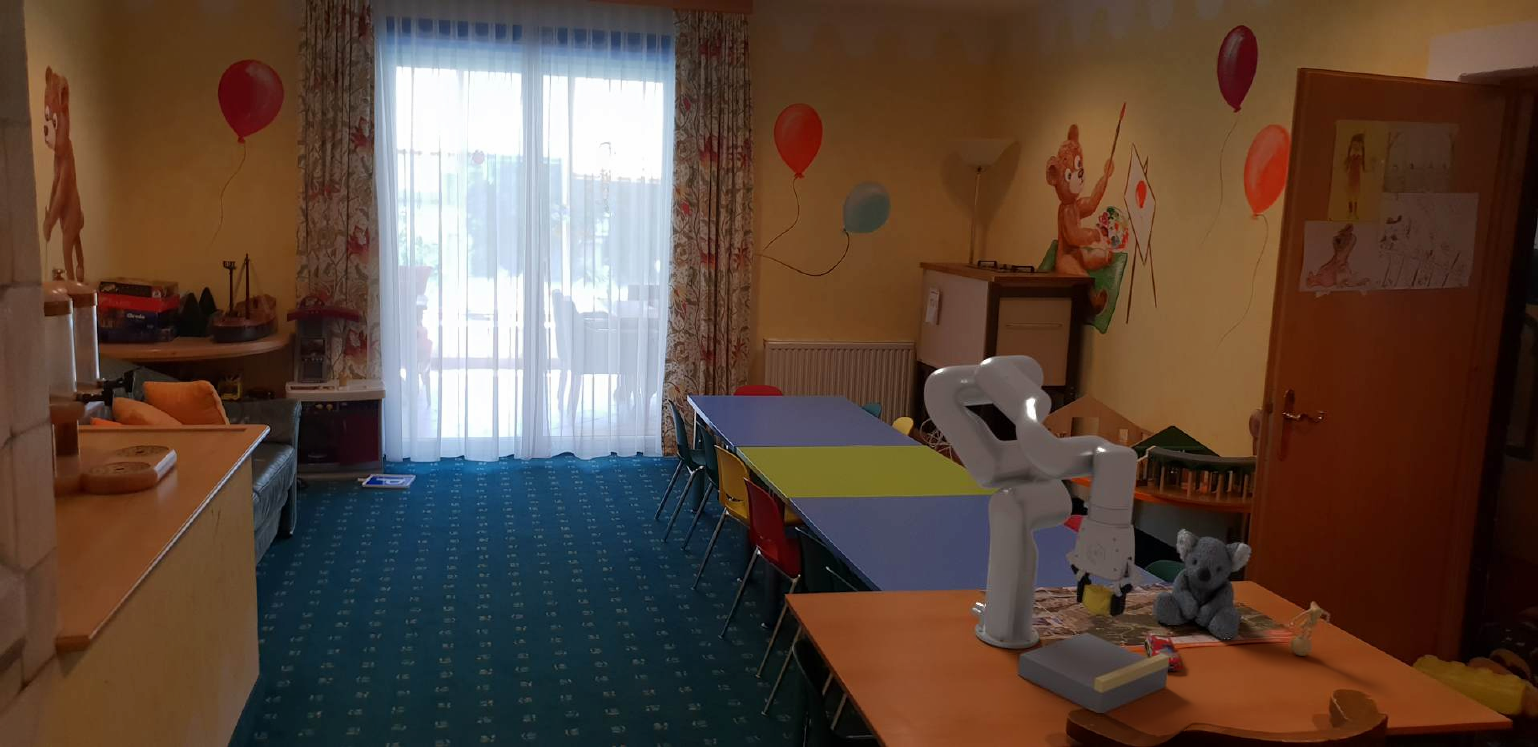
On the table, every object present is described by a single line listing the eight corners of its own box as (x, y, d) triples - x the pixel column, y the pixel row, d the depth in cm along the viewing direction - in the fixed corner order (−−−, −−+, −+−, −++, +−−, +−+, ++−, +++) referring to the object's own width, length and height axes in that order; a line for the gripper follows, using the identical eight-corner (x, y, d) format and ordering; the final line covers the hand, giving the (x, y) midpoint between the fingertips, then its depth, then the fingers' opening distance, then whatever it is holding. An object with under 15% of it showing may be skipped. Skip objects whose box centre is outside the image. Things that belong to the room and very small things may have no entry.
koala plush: (1148, 623, 231) (1158, 535, 227) (1167, 599, 246) (1177, 515, 242) (1235, 644, 222) (1247, 553, 218) (1249, 618, 237) (1261, 531, 233)
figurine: (1312, 650, 221) (1320, 594, 219) (1331, 663, 215) (1340, 605, 213) (1275, 651, 219) (1282, 594, 217) (1293, 663, 214) (1301, 606, 212)
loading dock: (1017, 674, 202) (1020, 644, 201) (1084, 651, 214) (1087, 622, 213) (1099, 714, 188) (1102, 681, 187) (1165, 686, 200) (1169, 656, 199)
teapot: (1124, 621, 195) (1127, 594, 194) (1093, 620, 194) (1096, 593, 193) (1107, 604, 202) (1110, 578, 202) (1077, 604, 202) (1080, 577, 201)
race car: (1181, 676, 206) (1184, 656, 205) (1151, 672, 207) (1154, 652, 206) (1170, 648, 219) (1173, 629, 218) (1142, 644, 220) (1144, 625, 219)
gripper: (1057, 504, 200) (1048, 596, 203) (1139, 530, 187) (1128, 628, 190) (1082, 498, 205) (1073, 589, 208) (1164, 523, 191) (1153, 619, 194)
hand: (1099, 607), depth 199 cm, fingers closed on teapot, 6 cm apart
